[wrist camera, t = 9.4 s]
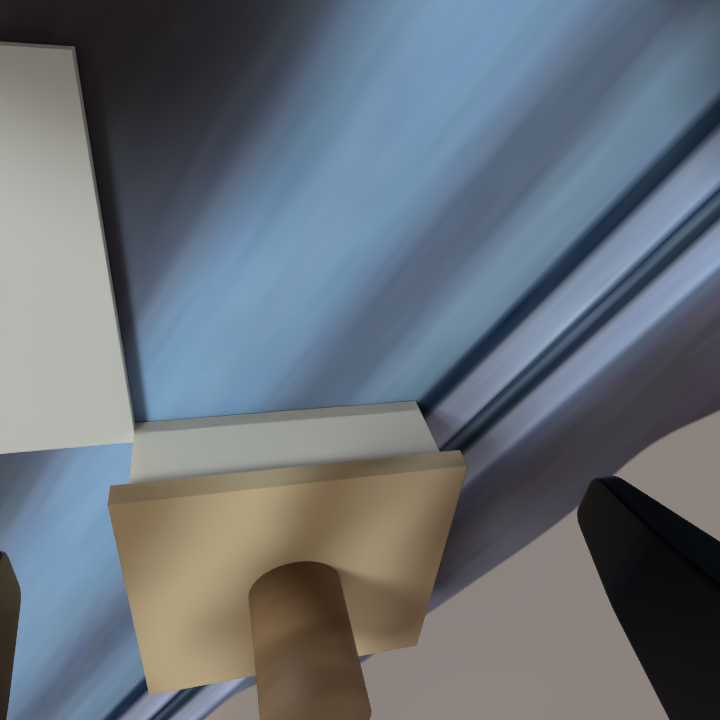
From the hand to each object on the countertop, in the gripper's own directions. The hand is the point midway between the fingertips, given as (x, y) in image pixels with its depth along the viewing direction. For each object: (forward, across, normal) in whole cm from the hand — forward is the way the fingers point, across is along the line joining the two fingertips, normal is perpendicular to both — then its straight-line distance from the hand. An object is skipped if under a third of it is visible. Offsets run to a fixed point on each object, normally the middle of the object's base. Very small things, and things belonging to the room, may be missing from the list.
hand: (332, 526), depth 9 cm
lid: (+8, -1, +14) cm, 16 cm away
